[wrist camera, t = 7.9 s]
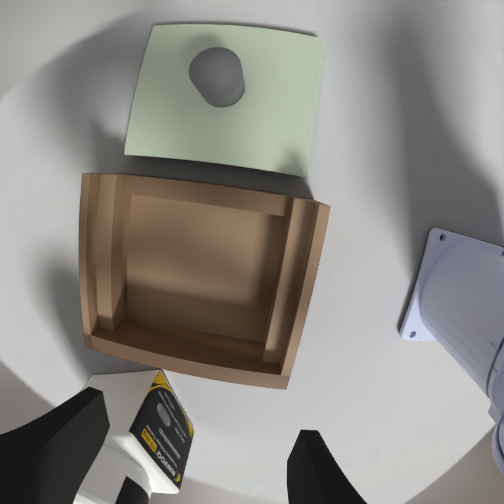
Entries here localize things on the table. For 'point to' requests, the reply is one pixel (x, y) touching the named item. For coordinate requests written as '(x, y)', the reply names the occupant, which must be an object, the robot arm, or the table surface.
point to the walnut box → (197, 275)
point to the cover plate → (247, 123)
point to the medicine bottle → (137, 440)
